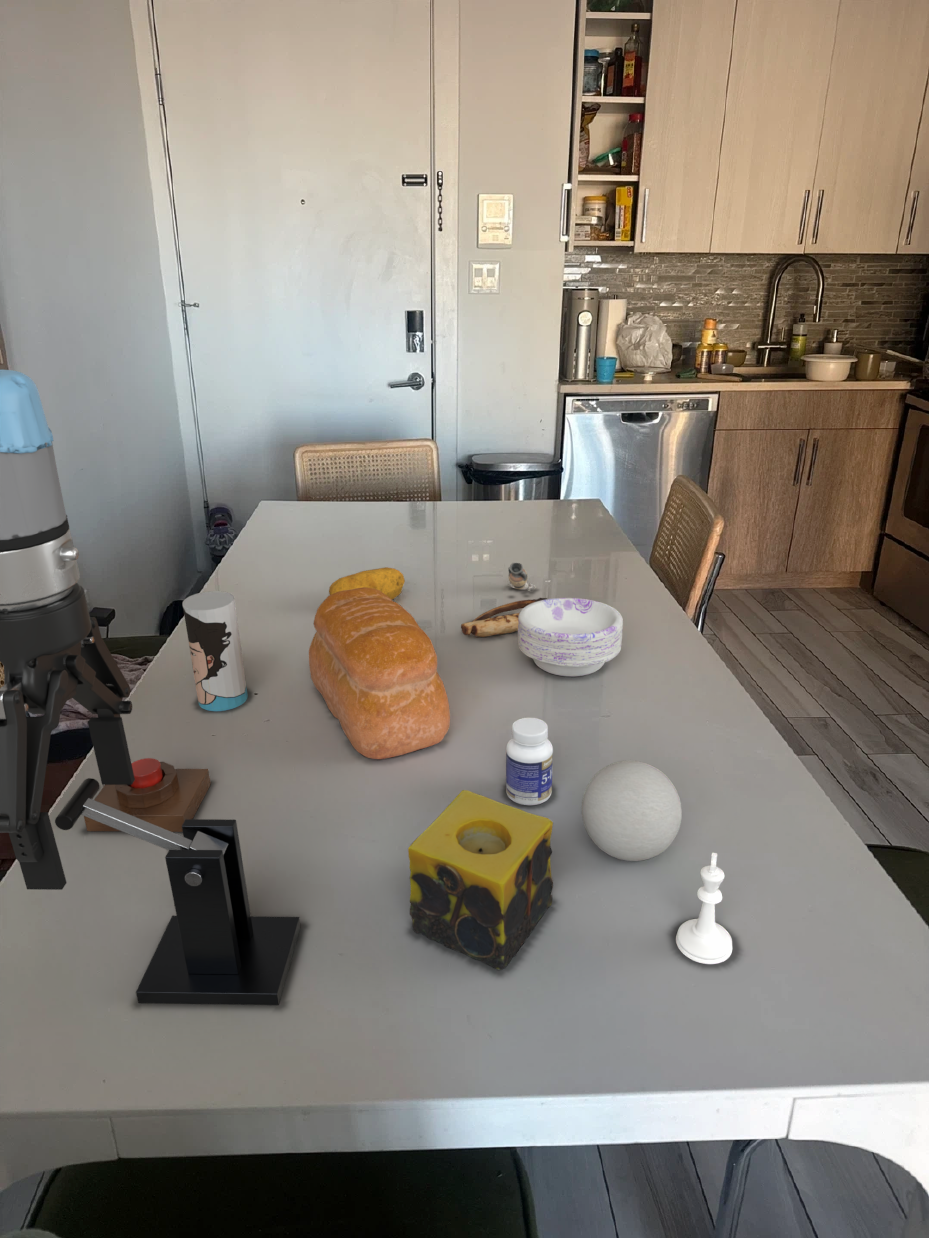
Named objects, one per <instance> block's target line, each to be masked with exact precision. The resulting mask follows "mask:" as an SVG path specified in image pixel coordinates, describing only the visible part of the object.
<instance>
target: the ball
mask: <svg viewBox="0 0 929 1238" xmlns="http://www.w3.org/2000/svg"><path fill="white" fill-rule="evenodd" d="M682 809H683V808H682V803H681V799H680V795H679V792H678V790H677V789H676V787H675V785H674V784H673V782H672V781H671V780H670V778H669V777H668V776H667V775H666V774H665V773H664V772H663V771H661V770H660V769H658V768H657V767H655V766H653V765H651V764H649V763H646V762H643V761H638V760H621V761H617V762H614V763H611V764H608V765H606V766H604V767H603V768H601V769H600V770H599V771H597V772H596V774H594V775H593V776H592V778H591V779H590V781H589V783H588V784H587V786H586V788H585V790H584V792H583V795H582V800H581V818H582V822H583V826H584V828H585V831H586V832H587V835H588V836H589V839H591V840H592V842H593V843H594V844H595V845H596V846H597V848H599V849H600V850H601V851H602V852H604V853H605V854H607V855H608V856H610V857H612V858H615V859H618V860H621V861H626V862H640V861H646V860H650V859H652V858H655V857H657V856H659V855H660V854H662V853H663V852H665V851H666V850H667V849H668V848H669V847H670V846H671V844H672V843H673V842H674V840H675V838H676V837H677V835H678V833H679V830H680V828H681V824H682V816H683V810H682Z"/></svg>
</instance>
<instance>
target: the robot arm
mask: <svg viewBox="0 0 929 1238" xmlns="http://www.w3.org/2000/svg"><path fill="white" fill-rule="evenodd" d="M53 442H54V436H53V432H52V430H51V428H50V427H49V424H48V422H47V417H46V414H45V410H44V407H43V402H42V399H41V396H40V391H39V390H38V386H37V385H36V383H35V381H34V380H33V379H32V378H31V377H30V376H28V375H27V374H25V373H23V372H21V371H19V370H12V369H0V663H1V665H2V666H3V674H4V675H3V677H4V679H3V685H2V686H1V687H0V833H1V834H3V833H4V834H5V833H6V834H7V833H8V836H9V839H10V843H11V846H12V849H13V852H14V853H13V854H14V856H15V859H16V860H17V862H18V863H19V867H20V869H21V873H22V877H23V881H24V884H25V887H26V890H43V891H45V890H47V891H49V890H51V891H52V890H53V891H54V890H57V891H59V890H61V891H62V890H63V889H64V888H65V886H66V884H67V879H66V875H65V871H64V866H63V864H62V860H61V856H60V853H59V848H58V845H57V841H56V836H55V834H54V830H53V826H52V823H51V819H50V815H49V812H48V811H41V809H42V801H43V794H44V786H45V780H46V772H47V765H48V758H49V751H50V745H51V744H50V743H51V737H52V736H51V735H52V732H53V731H54V730H56V729H57V728H58V727H59V724H60V719H61V711H62V710H63V709H64V707H65V706H66V703H67V702H68V701H69V700H72V699H73V700H74V701H76V702H77V703H78V704H79V705H81V706H82V707H83V708H85V710H87V711H88V712H90V713H91V714H92V715H96V716H97V717H93V716H91V717H90V718H89V719H88V721H87V725H88V730H89V735H90V739H91V743H92V747H93V752H94V756H95V761H96V764H97V769H98V773H99V778H100V782H101V785H103V786H104V785H132V784H133V782H134V781H135V778H134V773H133V768H132V764H131V763H132V760H131V755H130V750H129V746H128V741H127V736H126V732H125V731H126V730H125V726H124V721H123V717H121V715H130V714H131V713H132V711H133V703H132V701H131V700H123V699H124V698H125V699H127V698H129V697H130V696H131V695H130V694H131V686H130V684H129V682H128V680H127V679H126V677H125V675H124V674H123V672H122V670H121V669H120V667H119V665H118V663H117V661H116V660H115V659H114V656H113V655H112V653H111V651H110V650H109V647H108V646H107V644H106V642H105V641H104V639H103V637H102V634H101V630H100V627H99V624H98V623H99V622H98V619H97V618H96V617H95V616H90V611H89V607H88V602H87V597H86V594H85V589H84V587H83V586H82V585H80V584H79V583H78V582H79V580H80V578H81V573H80V569H79V564H78V559H79V557H80V551H79V549H78V548H77V547H74V542H73V538H72V533H71V529H70V523H69V519H68V515H67V512H66V508H65V503H64V497H63V492H62V487H61V483H60V478H59V473H58V468H57V461H56V455H55V450H54V444H53ZM27 713H30V714H32V715H41V716H27Z"/></svg>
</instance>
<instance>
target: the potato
mask: <svg viewBox="0 0 929 1238" xmlns="http://www.w3.org/2000/svg"><path fill="white" fill-rule="evenodd" d="M405 582H406V580H405V577H404V574H403V573H402V572H401V571H400V570H398V569H396V568H393V567H389V566H387V567H385V566H384V567H380V568H373V569H367V570H362V571H359V572H356V573H353V574H348V575H346V576H343V577H339V578H338V579H336V580H335V581H334V582H332V583H331V584H330V586H329V589H328V594H329V595H331V594H333V593H336V592H339V591H344V590H351V589H356V588H362V587H366V588H373V589H377V590H379V591H381V592H382V593H384V594H385V595H387V596H388V597H390V598H391V600H392V601H394V599H396V598H397V597H398V596H399V595H401V593H402V591H403V587H404V585H405Z"/></svg>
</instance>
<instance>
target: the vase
mask: <svg viewBox="0 0 929 1238" xmlns="http://www.w3.org/2000/svg"><path fill="white" fill-rule="evenodd" d="M505 566H506V565H505V564H504V567H505ZM507 577H508V581H509V583H507V586H509V587H511V589H512V588H513V589H515V590H527V592H528V591H529V592H533V591H534V590H536V589H537V586H536V585H535V584H533V583H531V582H529V583H528V582H527V581H528V573H527V571H526V569H525V568H524V566H523V564H522V563H519V562H512V563H511V564H510V566H509V567H508V575H507ZM531 590H532V591H531Z"/></svg>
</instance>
